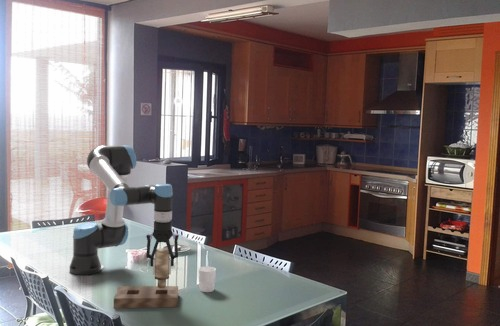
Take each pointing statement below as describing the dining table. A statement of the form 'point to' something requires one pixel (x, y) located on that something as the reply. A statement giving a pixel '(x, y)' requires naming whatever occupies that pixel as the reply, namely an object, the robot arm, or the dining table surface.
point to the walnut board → (146, 297)
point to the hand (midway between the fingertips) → (161, 273)
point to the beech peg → (161, 266)
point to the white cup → (207, 278)
